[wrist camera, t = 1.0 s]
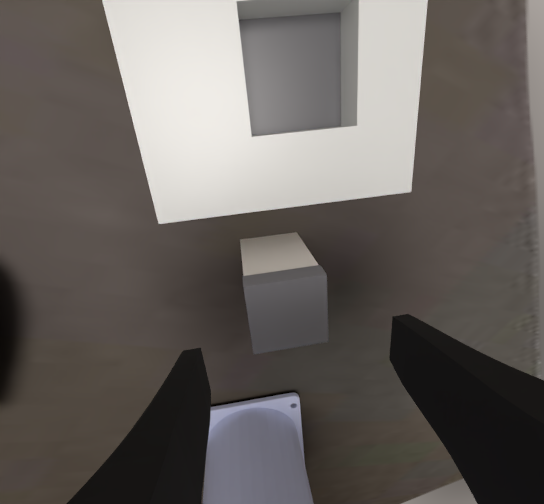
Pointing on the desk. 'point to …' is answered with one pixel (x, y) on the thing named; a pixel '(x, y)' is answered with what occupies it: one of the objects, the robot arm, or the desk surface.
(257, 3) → the socket plate
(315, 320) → the plug
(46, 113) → the desk surface
